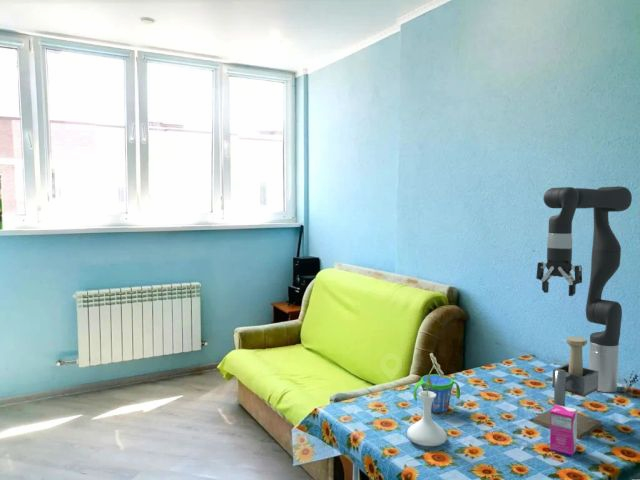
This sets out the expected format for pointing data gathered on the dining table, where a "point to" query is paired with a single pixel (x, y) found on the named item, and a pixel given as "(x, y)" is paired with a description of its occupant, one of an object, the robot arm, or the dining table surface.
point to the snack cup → (438, 391)
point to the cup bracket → (576, 386)
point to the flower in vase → (428, 417)
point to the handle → (576, 354)
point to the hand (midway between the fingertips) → (558, 294)
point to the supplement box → (563, 430)
